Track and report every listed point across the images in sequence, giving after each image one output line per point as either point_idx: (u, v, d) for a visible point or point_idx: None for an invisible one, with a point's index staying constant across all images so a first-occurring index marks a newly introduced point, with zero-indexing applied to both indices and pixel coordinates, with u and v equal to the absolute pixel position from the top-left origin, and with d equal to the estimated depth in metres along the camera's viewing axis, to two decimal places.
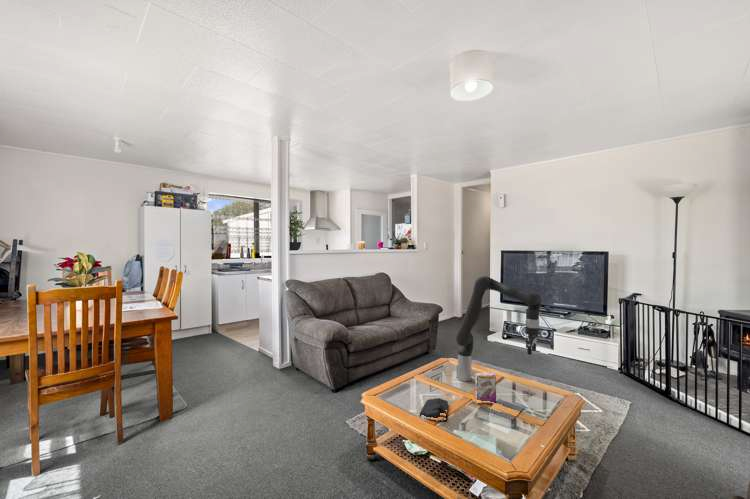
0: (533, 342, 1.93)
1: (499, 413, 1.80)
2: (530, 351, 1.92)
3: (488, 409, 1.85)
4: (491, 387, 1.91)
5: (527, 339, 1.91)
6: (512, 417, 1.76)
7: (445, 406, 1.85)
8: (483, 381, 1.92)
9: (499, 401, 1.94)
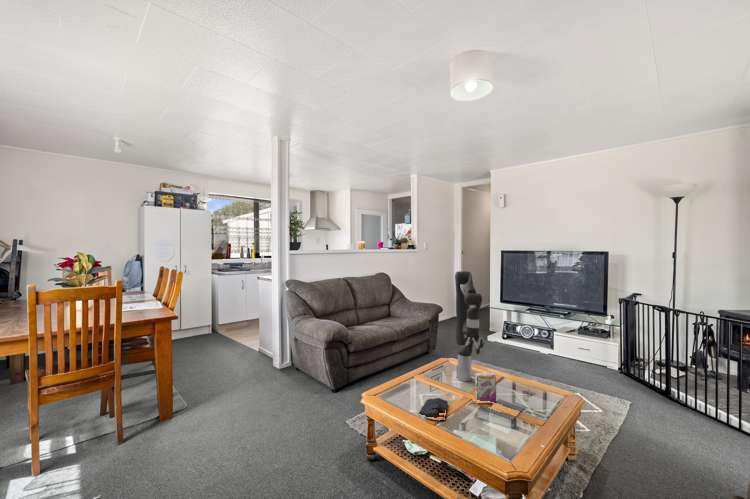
0: (477, 341, 1.99)
1: (499, 413, 1.80)
2: None
3: (488, 409, 1.85)
4: (491, 387, 1.91)
5: (482, 340, 1.94)
6: (512, 417, 1.76)
7: (444, 406, 1.85)
8: (483, 381, 1.92)
9: (499, 401, 1.94)
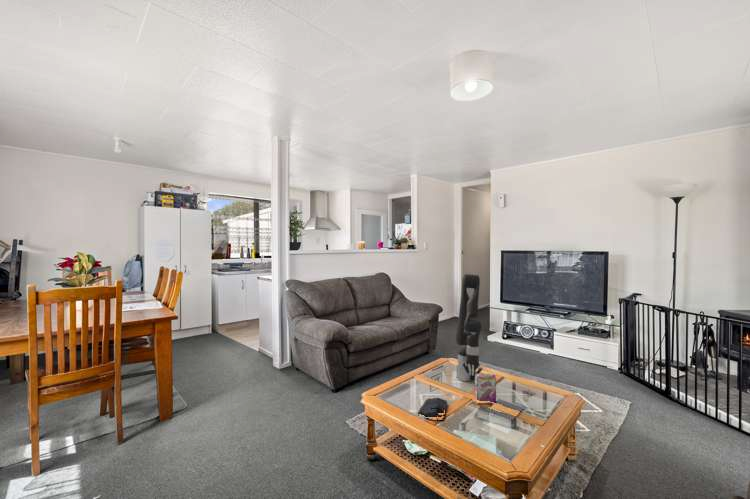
0: None
1: (499, 413, 1.80)
2: None
3: (488, 409, 1.85)
4: (491, 388, 1.91)
5: (481, 370, 1.95)
6: (512, 417, 1.76)
7: (444, 406, 1.85)
8: (483, 382, 1.91)
9: (499, 401, 1.94)
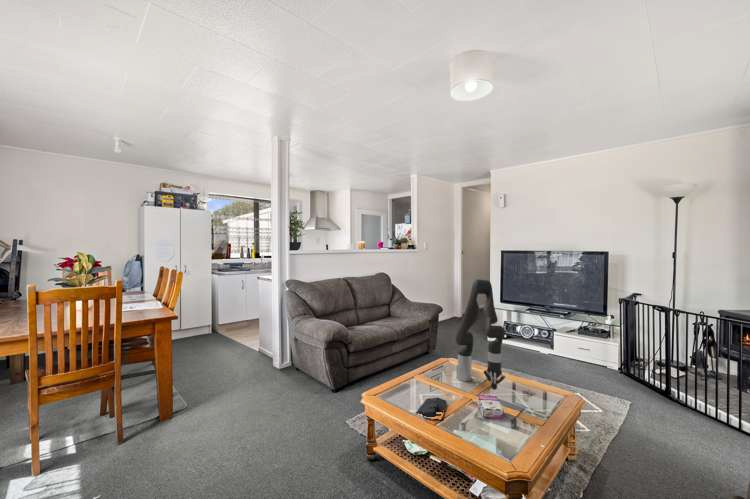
0: None
1: None
2: None
3: None
4: None
5: (503, 378, 1.86)
6: (512, 417, 1.76)
7: (443, 405, 1.86)
8: None
9: (499, 401, 1.94)
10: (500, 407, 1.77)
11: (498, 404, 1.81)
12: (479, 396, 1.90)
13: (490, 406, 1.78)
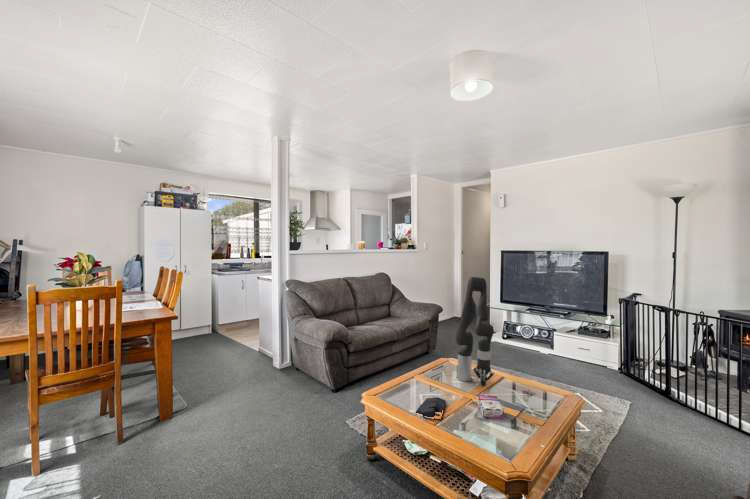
0: None
1: None
2: None
3: None
4: None
5: (492, 375, 1.90)
6: (512, 417, 1.76)
7: (442, 405, 1.86)
8: None
9: (499, 401, 1.94)
10: (500, 407, 1.77)
11: (498, 404, 1.81)
12: (479, 396, 1.90)
13: (490, 406, 1.78)
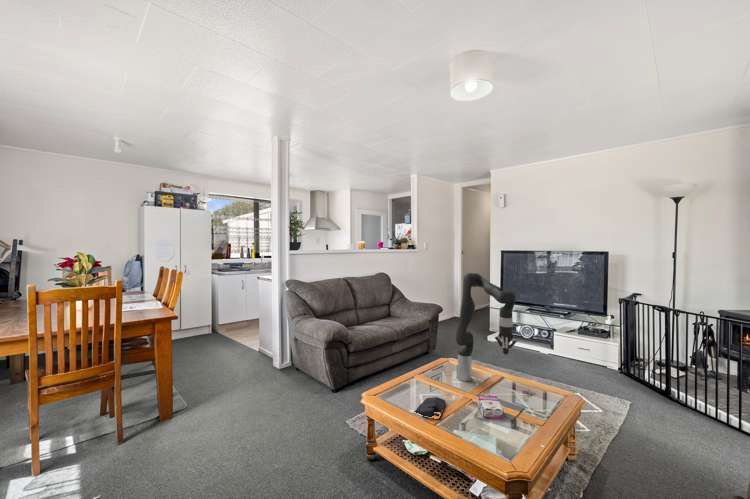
0: None
1: None
2: None
3: None
4: None
5: (515, 342, 1.88)
6: (512, 417, 1.76)
7: (442, 405, 1.86)
8: None
9: (499, 401, 1.94)
10: (500, 407, 1.77)
11: (498, 404, 1.81)
12: (479, 396, 1.90)
13: (490, 406, 1.78)
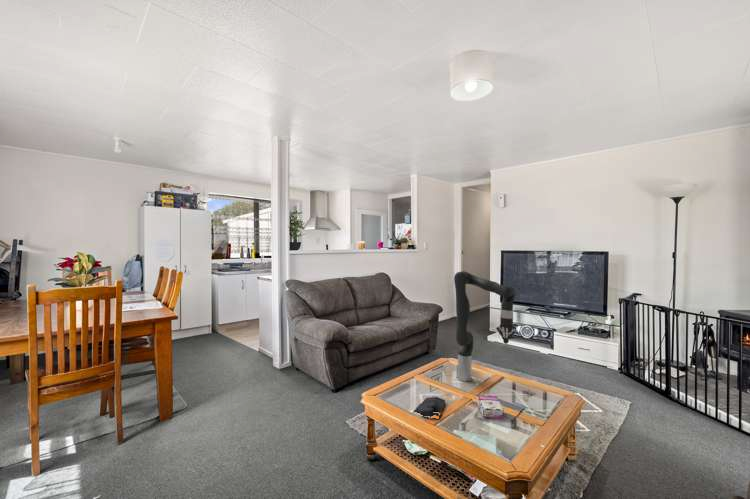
0: None
1: None
2: None
3: None
4: None
5: (514, 333, 2.04)
6: (512, 417, 1.76)
7: (441, 405, 1.86)
8: None
9: (499, 401, 1.94)
10: (500, 407, 1.77)
11: (498, 404, 1.81)
12: (479, 396, 1.90)
13: (490, 406, 1.78)
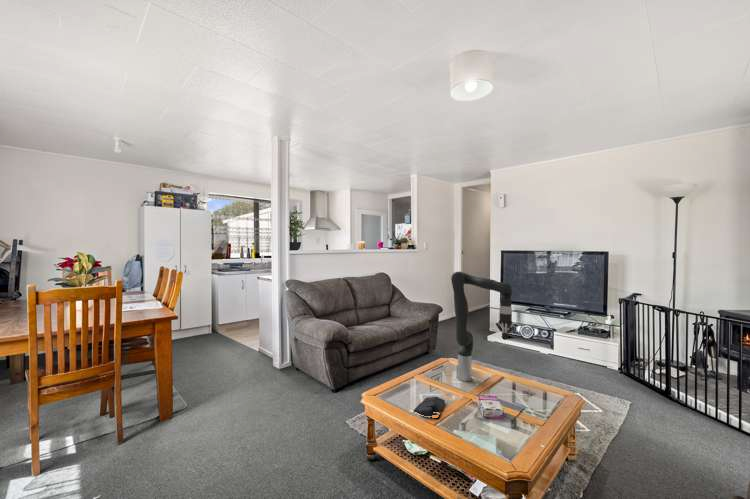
0: None
1: None
2: None
3: None
4: None
5: (513, 328, 2.11)
6: (512, 417, 1.76)
7: (441, 405, 1.87)
8: None
9: (499, 401, 1.94)
10: (500, 407, 1.77)
11: (498, 404, 1.81)
12: (479, 396, 1.90)
13: (490, 406, 1.78)
